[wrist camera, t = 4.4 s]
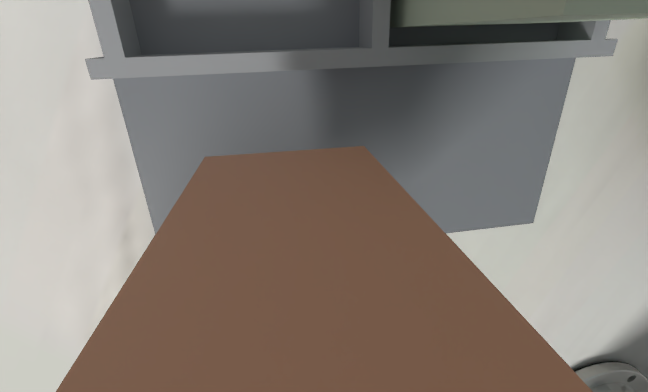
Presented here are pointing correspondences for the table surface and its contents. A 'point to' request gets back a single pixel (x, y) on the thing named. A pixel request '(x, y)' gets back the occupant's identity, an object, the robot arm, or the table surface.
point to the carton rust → (310, 293)
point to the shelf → (344, 95)
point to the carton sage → (510, 11)
